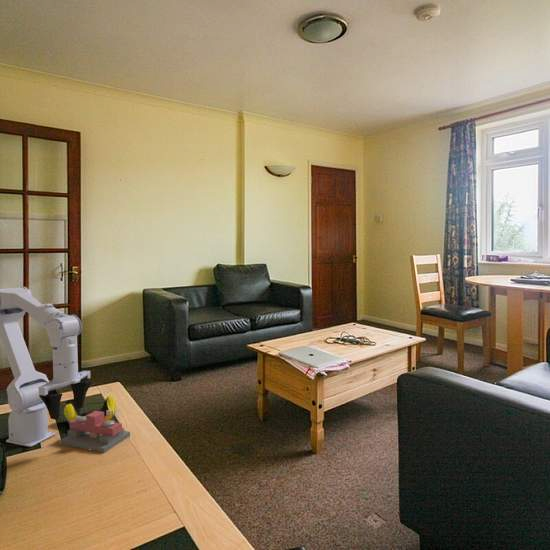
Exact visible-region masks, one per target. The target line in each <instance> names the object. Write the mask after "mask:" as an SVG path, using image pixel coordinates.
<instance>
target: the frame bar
mask: <svg viewBox="0 0 550 550" xmlns="http://www.w3.org/2000/svg"><path fill="white" fill-rule="evenodd" d="M93 411H94V410H93ZM122 428H123V425H122V423H120V422H116V421H115V420H114V419H110V420H107V421H104V412H101V411H94V412H92V413H90V414H88V415H86V416H82V417H78V418H76V419H74V420H72V421H70V423H69V430H70V429H75V430H81V431H86V432H92V433H98V434H103V435H109V436H114V435H116V434H117V433H119V432H120V431H122Z"/></svg>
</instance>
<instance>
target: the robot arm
mask: <svg viewBox="0 0 550 550" xmlns="http://www.w3.org/2000/svg"><path fill="white" fill-rule="evenodd" d="M26 313H28V314H30V315H31V318H32V320H33V321H34V323H35V324H37V325H39V326H40V327H41V328H43V329H45V331H46V335H47V337H48V340H49V345H50V347H52V372H53V375H52V376H53V377H52V379H51V380H49V379H48V377H47V374H45V373H43V372H40V371H37V370H36V369H35V366H34V363H33V361H32V358H31V355H30V353H29V349H28V346H27V345H26V341H25V339H24V336H23V334H22V333H23V332H22V330H21V328H20V327H21V326H20V324H19V320H20V319H22V318H23V317H24V316H25V314H26ZM82 328H83V325H82V321H81V319H80V318H79V316H77V315H76V314H66V313H65V312H63V311H61V310H60V309H57V308H56V307H54V305H53V304H52V303H43V304H42V303H41V302H40V301H39V300H37V299H36V298H35V297H34V296H33V295H32V292H31V289H29V288H28V287H26V286H20V287H7V288H6V287H5V288H0V340H1V344H2V347H3V349H4V352H5V354H6V358H7V360H8V363H9V366H10V369H11V372H12V375H13V379H12V380H11V382H9V384H8V385H7V388H6V394H7V404H8V406H9V408H10V409H11V411H10V413H9V415H8V420H7V421H8V422H7V423H8V439H6V440H5V442H6V443H10V444H14V445H19V446H24V447H29V448H31V447H33V446H36V445H38V444H39V443H41V442H44V441H45V440H47V439H49V438H51V437H54V436H55V435H56V432H54V431H48V429H49V428H48V427H49V426H48V424H49V423H48V415H49V418H50V419H51V420H59V419H60V410H61V409H60V405H61V400H62V396H63V393H61V392H60V393H59V392H58V391H57V390H59V389H62V388H65V387H67V386H71V390H72V393H73V406H74V408H75V409H82V408H83V407H84V402H85V399H86V396H87V393H88V390H89V388H90V386H91V385H92V380H91V370H82V371H79V364H78V363H79V361H78V359H79V358H78V336H79V335H81V333H82Z"/></svg>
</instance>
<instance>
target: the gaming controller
mask: <svg viewBox="0 0 550 550" xmlns="http://www.w3.org/2000/svg"><path fill="white" fill-rule="evenodd" d="M116 403H117V402H116V400H115V398H114V397H113V396H110V395H107V396H106V399H105V400H104V402H103V405H102V407H101V408H100V409H95V410H90V411H85V412H83V413H82V412H79V411H78V410H77V408H75V406H74V404H72V403H67V404H66V405H65V406H64V408H63V416H64V418H65V420H66V421H67V423H68V424H70V421H72V420H74V419H76V418H78V417H82V416H86V415H88V414H90V413H92V412H94V411H101V412H104V421H107V420H113V418H114V417H115V413H116V409H117V408H116V406H117V405H116Z"/></svg>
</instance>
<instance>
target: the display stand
mask: <svg viewBox="0 0 550 550" xmlns="http://www.w3.org/2000/svg"><path fill="white" fill-rule="evenodd" d="M130 436H131V431H128V430H124V427H122V431H120V432H119V433H117V434H116V435H114V436H109V435H103V434H98V433H92V432H86V431H81V430H75V429H70V428H69V429H68V430H67V435H66V436H65V437H64V438H62V439H60V440H59V441H60V442H59V444H60V445H63V446H67V447H71V448H72V447H73V448H77V447H79V448H78V449H82V448H85V449H84V450H87V449H91V450H90V451H92V450H96V451H95V452H97V451H99V453H102V452H105V453H106V452H109V451H110V450H111V449H113V448H114V447H115V445H116V446H117V445H119V444H121V441H122V442H124V441H125V440H126V439H128V438H130ZM127 437H128V438H127ZM124 439H125V440H124ZM118 443H119V444H118ZM112 447H113V448H112ZM109 449H110V450H109Z"/></svg>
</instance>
